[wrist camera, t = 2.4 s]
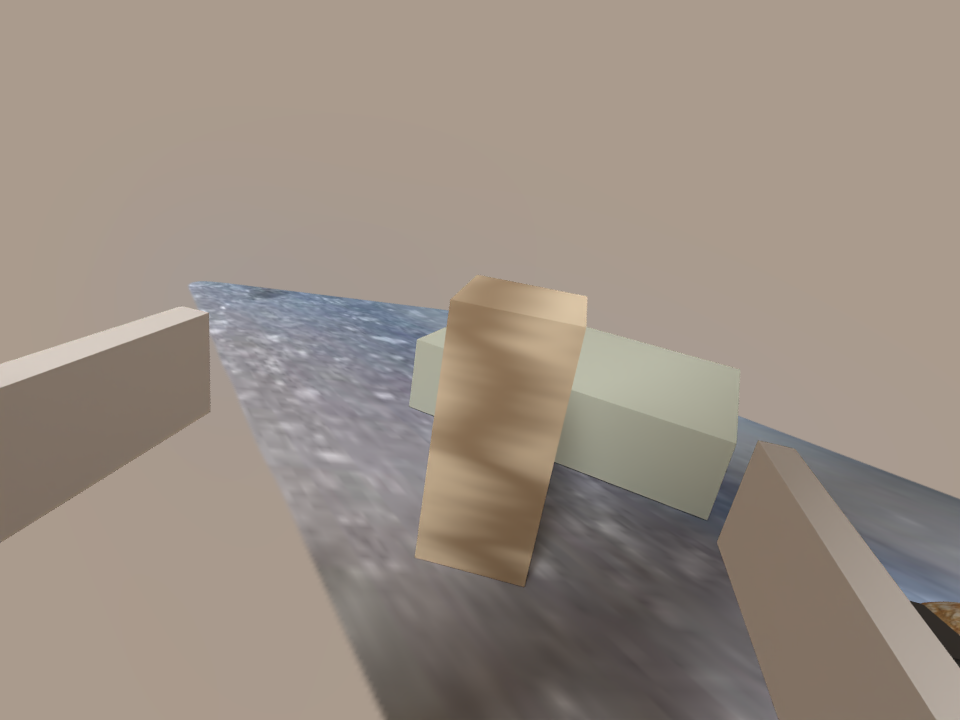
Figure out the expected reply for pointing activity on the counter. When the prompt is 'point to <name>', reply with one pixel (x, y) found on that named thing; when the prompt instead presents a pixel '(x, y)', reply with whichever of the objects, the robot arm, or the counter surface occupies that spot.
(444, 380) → the birch block
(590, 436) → the block
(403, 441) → the counter surface
